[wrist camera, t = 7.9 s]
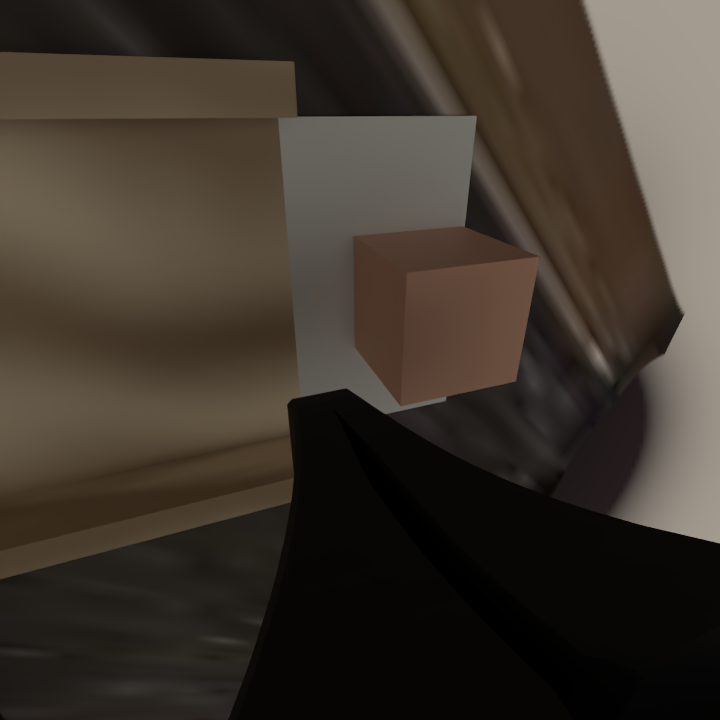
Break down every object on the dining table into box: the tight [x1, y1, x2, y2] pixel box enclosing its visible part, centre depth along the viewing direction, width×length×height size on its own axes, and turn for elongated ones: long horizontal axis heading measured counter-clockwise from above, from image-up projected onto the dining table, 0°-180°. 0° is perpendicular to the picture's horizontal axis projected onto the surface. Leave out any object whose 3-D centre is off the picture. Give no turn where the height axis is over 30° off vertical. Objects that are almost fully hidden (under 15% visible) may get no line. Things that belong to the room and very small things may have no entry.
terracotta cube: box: [353, 226, 540, 406], centre depth 16 cm, size 4×4×4 cm
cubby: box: [0, 52, 300, 579], centre depth 13 cm, size 14×17×3 cm
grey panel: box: [278, 116, 477, 414], centre depth 18 cm, size 12×7×1 cm, turn 179°
